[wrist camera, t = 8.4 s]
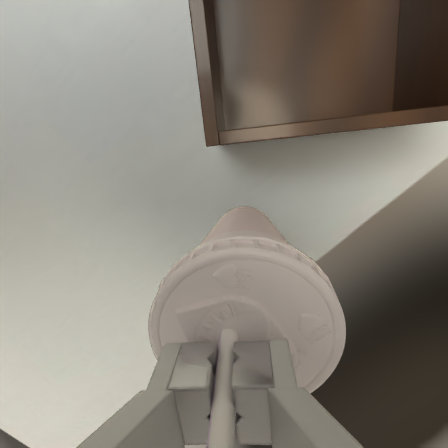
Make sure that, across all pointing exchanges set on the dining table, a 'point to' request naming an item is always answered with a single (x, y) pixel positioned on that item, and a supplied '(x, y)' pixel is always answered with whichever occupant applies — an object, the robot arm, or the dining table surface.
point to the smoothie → (249, 306)
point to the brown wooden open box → (318, 66)
